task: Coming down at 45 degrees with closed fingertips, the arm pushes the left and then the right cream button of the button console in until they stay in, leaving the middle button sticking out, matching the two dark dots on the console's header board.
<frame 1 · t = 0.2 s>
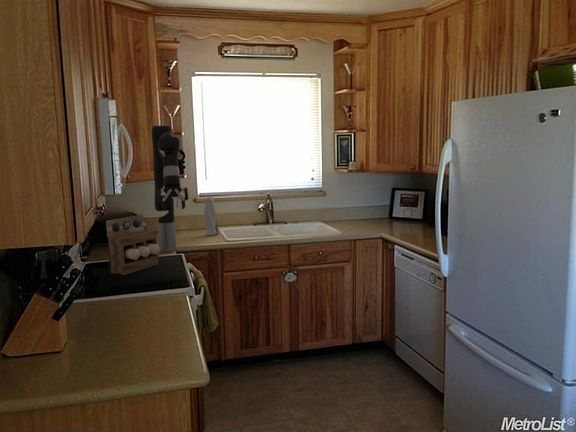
hand: (173, 209, 238), 31 cm above the table, tool tilted 20°, fingers open, 8 cm apart
button right: (151, 248, 255), point 10 cm above the table, slide at 0.0 cm
console: (135, 268, 254), on the table
button middle: (141, 251, 249), point 10 cm above the table, slide at 0.0 cm
button left: (130, 253, 244), point 10 cm above the table, slide at 0.0 cm
skyscraper: (211, 235, 345), on the table
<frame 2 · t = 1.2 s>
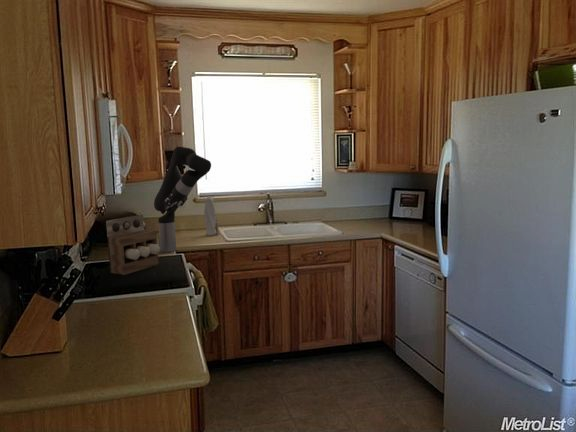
hand: (167, 211, 249), 29 cm above the table, tool tilted 45°, fingers open, 7 cm apart
nothing on the table moved.
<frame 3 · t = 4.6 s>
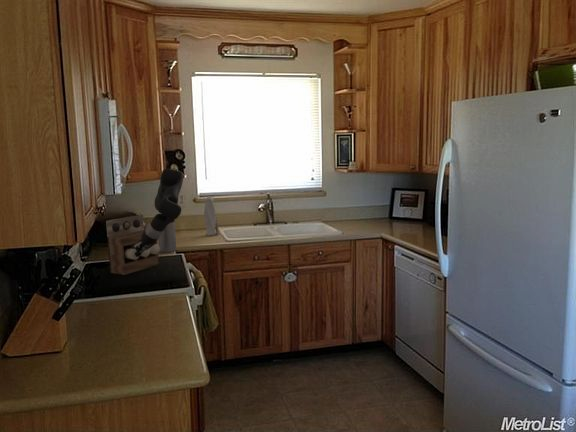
hand: (136, 255, 242), 9 cm above the table, tool tilted 45°, fingers closed
button left: (130, 253, 244), point 10 cm above the table, slide at 0.2 cm, touching gripper
everything else where it was.
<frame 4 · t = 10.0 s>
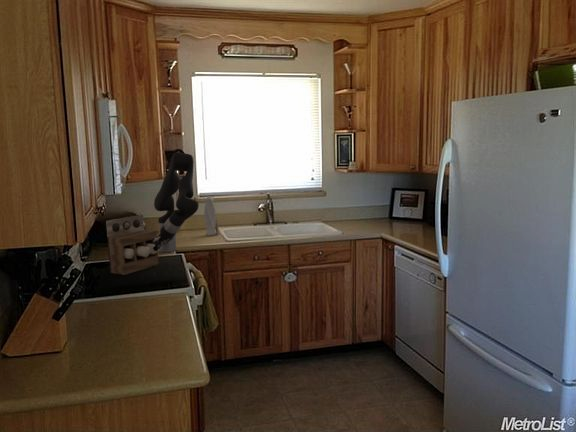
hand: (155, 249, 254), 9 cm above the table, tool tilted 45°, fingers closed
button right: (149, 248, 256), point 10 cm above the table, slide at 1.5 cm, touching gripper
button left: (125, 253, 246), point 10 cm above the table, slide at 4.0 cm
everything else where it was.
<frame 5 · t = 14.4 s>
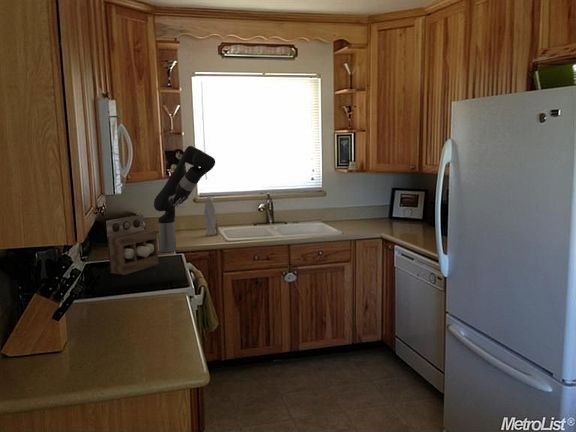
hand: (170, 209, 250), 30 cm above the table, tool tilted 45°, fingers closed
button right: (145, 248, 257), point 9 cm above the table, slide at 4.0 cm
everything else where it was.
at the end: button left slide at 4.0 cm; button right slide at 4.0 cm; button middle slide at 0.0 cm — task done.
